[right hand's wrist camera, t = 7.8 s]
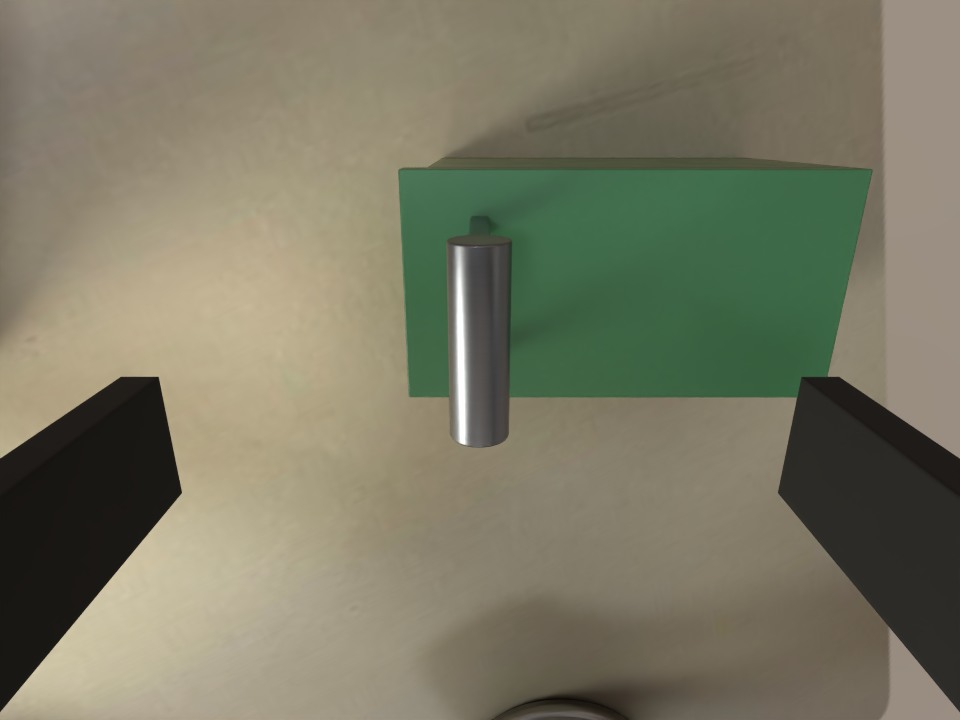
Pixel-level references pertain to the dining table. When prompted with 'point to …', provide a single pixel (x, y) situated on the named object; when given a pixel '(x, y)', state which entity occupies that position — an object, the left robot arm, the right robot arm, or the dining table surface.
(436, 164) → the chest
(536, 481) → the dining table surface
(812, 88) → the dining table surface
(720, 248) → the lid
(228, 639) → the dining table surface
